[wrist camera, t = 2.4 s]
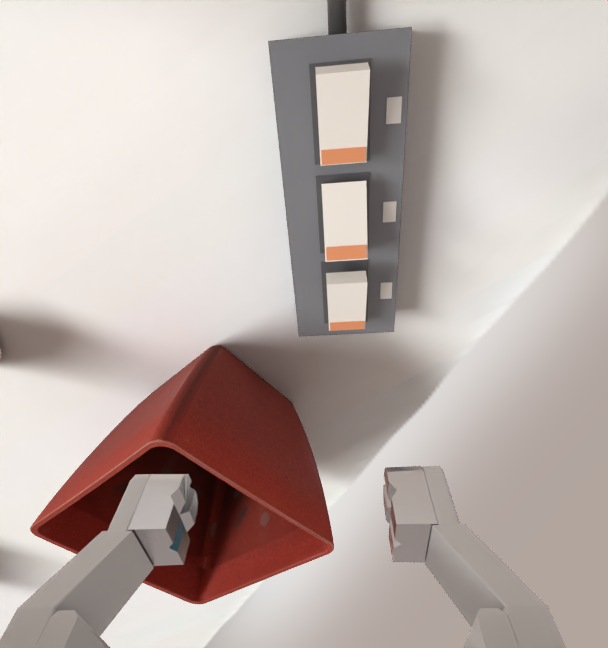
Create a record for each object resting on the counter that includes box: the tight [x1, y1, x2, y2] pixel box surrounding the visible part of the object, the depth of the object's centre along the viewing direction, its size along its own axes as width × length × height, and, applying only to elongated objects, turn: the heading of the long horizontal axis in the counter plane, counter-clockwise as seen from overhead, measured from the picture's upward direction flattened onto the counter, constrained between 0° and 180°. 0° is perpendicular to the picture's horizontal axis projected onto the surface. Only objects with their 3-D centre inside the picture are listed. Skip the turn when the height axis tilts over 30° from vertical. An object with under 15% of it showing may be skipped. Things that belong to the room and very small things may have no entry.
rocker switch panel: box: [268, 0, 412, 336], centre depth 30 cm, size 29×9×4 cm, turn 5°
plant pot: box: [30, 345, 334, 604], centre depth 40 cm, size 19×19×17 cm
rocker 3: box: [326, 271, 367, 331], centre depth 33 cm, size 6×3×2 cm, turn 4°
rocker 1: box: [315, 62, 370, 166], centre depth 25 cm, size 6×3×2 cm, turn 4°
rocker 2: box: [321, 181, 368, 262], centre depth 29 cm, size 6×3×2 cm, turn 5°
